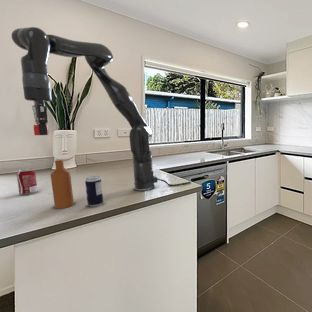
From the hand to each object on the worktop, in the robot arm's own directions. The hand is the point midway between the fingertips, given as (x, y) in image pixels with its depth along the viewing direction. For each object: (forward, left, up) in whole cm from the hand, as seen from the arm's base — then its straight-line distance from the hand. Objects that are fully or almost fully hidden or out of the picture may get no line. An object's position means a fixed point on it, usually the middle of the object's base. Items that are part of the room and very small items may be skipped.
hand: (43, 134), depth 83 cm
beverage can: (-14, -1, -31) cm, 34 cm away
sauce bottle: (-3, -6, -30) cm, 31 cm away
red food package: (+17, -35, -31) cm, 49 cm away
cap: (0, 0, 0) cm, 0 cm away
